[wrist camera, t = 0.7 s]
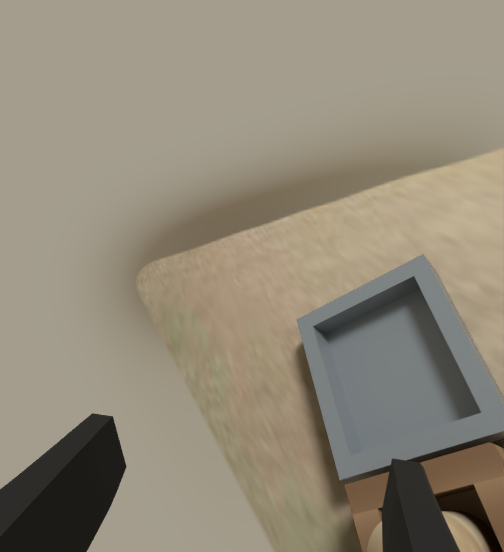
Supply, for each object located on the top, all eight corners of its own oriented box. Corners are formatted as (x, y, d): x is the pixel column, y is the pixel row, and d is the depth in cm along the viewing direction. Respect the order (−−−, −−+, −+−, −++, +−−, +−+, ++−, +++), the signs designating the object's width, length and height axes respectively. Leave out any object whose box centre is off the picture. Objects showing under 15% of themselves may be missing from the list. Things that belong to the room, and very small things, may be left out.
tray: (522, 433, 20) (514, 427, 18) (358, 481, 24) (339, 480, 22) (435, 269, 26) (423, 254, 24) (313, 329, 30) (296, 319, 28)
